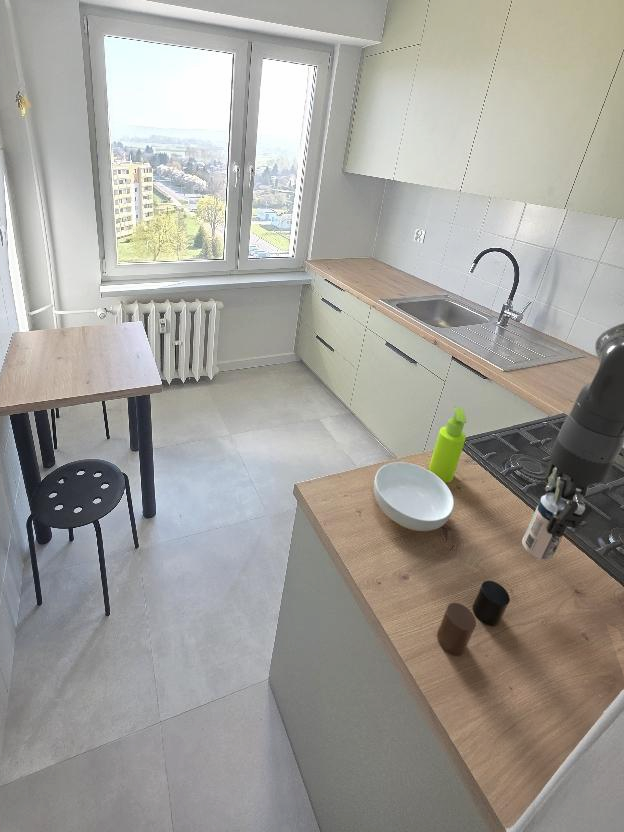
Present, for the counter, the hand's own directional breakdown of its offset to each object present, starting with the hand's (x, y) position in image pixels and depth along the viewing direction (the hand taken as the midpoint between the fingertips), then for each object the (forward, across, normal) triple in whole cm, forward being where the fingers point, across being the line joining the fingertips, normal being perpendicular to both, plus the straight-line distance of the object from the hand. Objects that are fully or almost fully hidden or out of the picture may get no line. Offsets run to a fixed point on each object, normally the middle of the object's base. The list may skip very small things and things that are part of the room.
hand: (550, 521), depth 73 cm
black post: (+18, -8, +6) cm, 21 cm away
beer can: (+8, 0, 0) cm, 8 cm away
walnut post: (+18, -16, +12) cm, 27 cm away
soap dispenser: (+19, +26, +14) cm, 35 cm away
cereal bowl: (+19, +10, +21) cm, 30 cm away
